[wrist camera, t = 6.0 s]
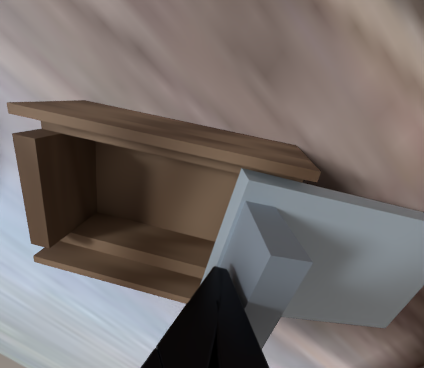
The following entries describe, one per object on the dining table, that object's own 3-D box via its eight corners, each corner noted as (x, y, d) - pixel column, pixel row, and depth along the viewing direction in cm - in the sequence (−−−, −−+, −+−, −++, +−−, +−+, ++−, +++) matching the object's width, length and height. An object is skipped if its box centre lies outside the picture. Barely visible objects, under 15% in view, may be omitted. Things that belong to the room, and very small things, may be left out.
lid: (442, 216, 11) (571, 285, 7) (369, 308, 13) (436, 392, 10) (241, 168, 9) (277, 228, 5) (199, 286, 11) (203, 383, 8)
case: (296, 145, 12) (321, 172, 8) (256, 261, 15) (259, 324, 11) (84, 100, 13) (6, 102, 8) (89, 218, 16) (34, 261, 12)
